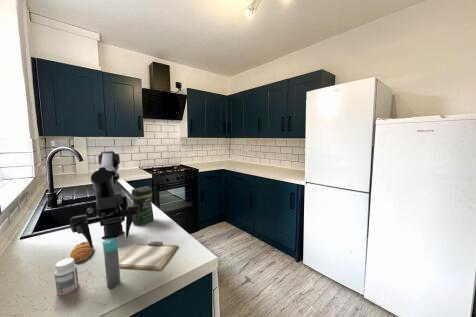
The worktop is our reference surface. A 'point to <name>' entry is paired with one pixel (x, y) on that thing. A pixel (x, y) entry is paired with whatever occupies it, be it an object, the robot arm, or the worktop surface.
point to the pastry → (81, 252)
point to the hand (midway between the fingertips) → (110, 242)
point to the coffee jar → (143, 204)
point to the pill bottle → (66, 276)
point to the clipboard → (147, 256)
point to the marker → (111, 262)
